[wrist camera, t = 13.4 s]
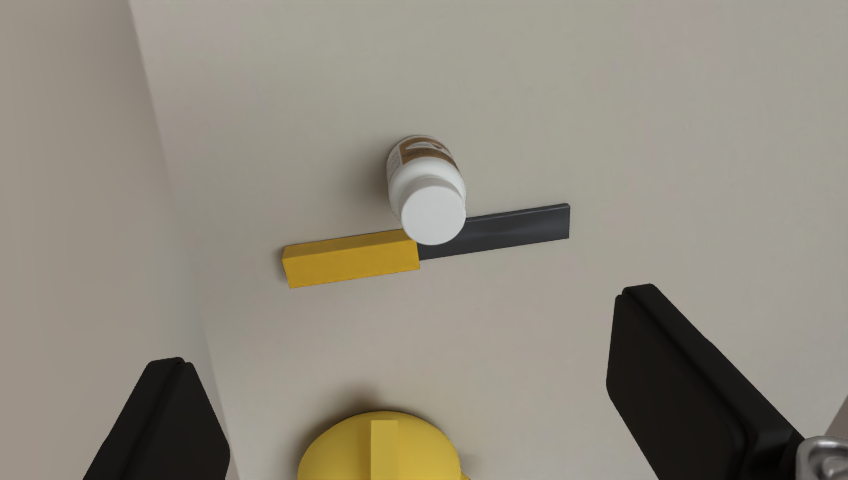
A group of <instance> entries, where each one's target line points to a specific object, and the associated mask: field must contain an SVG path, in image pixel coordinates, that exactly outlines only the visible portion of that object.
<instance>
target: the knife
mask: <svg viewBox="0 0 848 480" xmlns="http://www.w3.org/2000/svg"><path fill="white" fill-rule="evenodd" d="M569 222H570V205H569V204H560V205H554V206H547V207H540V208H533V209H526V210H520V211H513V212H506V213H499V214H492V215H486V216H479V217H472V218H465V222H464V225H463V227H462V229H461V230H460V232H459V233H458V234H457V235H456V236H455V237H454V238H452V239H451V240H449V241H447V242H445V243H442V244H438V245H425V244H421V243H418V242H416V241H414V240H413V239H411V238H410V237H409V236H408V235H407V234H406V232H405V231H404V229H399V230H392V231H385V232H378V233H371V234H365V235H358V236H351V237H344V238H337V239H331V240H324V241H317V242H310V243H304V244H297V245H290V246H285V249H284V252H283V256H282V263H283V266H284V270H285V273H286V276H287V280H288V283H289V286H290V288H297V287H304V286H311V285H317V284H324V283H331V282H337V281H344V280H351V279H357V278H364V277H371V276H377V275H384V274H390V273H397V272H404V271H410V270H417V269H420V264H419V261H420V260H426V259H433V258H440V257H446V256H453V255H460V254H467V253H473V252H480V251H487V250H493V249H500V248H507V247H513V246H520V245H527V244H533V243H540V242H547V241H553V240H560V239H567V238H569Z"/></svg>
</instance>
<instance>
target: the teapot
mask: <svg viewBox="0 0 848 480" xmlns="http://www.w3.org/2000/svg"><path fill="white" fill-rule="evenodd" d="M297 480H470V479H469V478H468V477H467V476H466V475H465V474H463V473H462V472H461V468H460V462H459V456H458V454H457V451H456V449H455V448H454V446H453V444H452V443H451V441H450V440H449V439H448V438H447V436H446V435H445V434H444V433H442V432H441V431H440V430H439V429H437V428H436V427H434V426H433V425H431V424H429V423H428V422H426V421H424V420H422V419H419V418H417V417H415V416H412V415H409V414H406V413H401V412H393V411H376V412H368V413H363V414H359V415H355V416H352V417H350V418H347V419H345V420H343V421H341V422H339V423H338V424H336V425H334V426H333V427H331V428H330V429H328V430H327V431H325V432H324V433H323V434H322V435H320V436H319V437H318V438H317V439H316V440H315V441H314V442H313V443H312V444H311V445H310V446H309V448H308V449H307V451H306V452H305V454H304V456H303V457H302V459H301V462H300V464H299V468H298V474H297Z"/></svg>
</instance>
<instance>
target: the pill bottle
mask: <svg viewBox="0 0 848 480" xmlns="http://www.w3.org/2000/svg"><path fill="white" fill-rule="evenodd" d="M386 171H387V183H388V193H389V201H390V205H391V208H392V211H393V213H394V214H395V216H396V217H397V219H398V220H399V221H400V222H401V224H402V227H403V229H404V231H405V232H406V234H407V235H408V236H409V237H410V238H411V239H413V240H414V241H416V242H418V243H421V244H425V245H438V244H442V243H445V242H447V241H449V240H451V239H452V238H454V237H455V236H456V235H457V234H458V233H459V232H460V230H461V229H462V227H463V225H464V222H465V218H466V209H465V205H464V203H465V198H466V189H465V184H464V181H463V178H462V176H461V174H460V172H459V170H458V168H457V166H456V163H455V162H454V159H453V158H452V156H451V153H450V152H449V150H448V148H447V147H446V146H445V145H444V144H443V143H442V142H440V141H439V140H437V139H435V138H433V137H430V136H424V135H417V136H412V137H409V138H406V139H404V140H403V141H401V142H399V143H398V144H397V145H396V146H395V147H394V148H393V150H392V151H391V153H390V155H389V157H388V160H387V166H386Z"/></svg>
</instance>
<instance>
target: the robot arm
mask: <svg viewBox="0 0 848 480" xmlns="http://www.w3.org/2000/svg"><path fill="white" fill-rule="evenodd" d="M606 387H607V391H608V394H609V397H610V399H611V401H612V402H613V404H614V406H615V407H616V409H617V411H618V412H619V414H620V416H621V417H622V419H623V421H624V422H625V424H626V426H627V427H628V429H629V431H630V432H631V434H632V436H633V437H634V439H635V441H636V442H637V444H638V446H639V447H640V449H641V451H642V452H643V454H644V456H645V457H646V459H647V461H648V462H649V464H650V466H651V467H652V469H653V471H654V472H655V474H656V476H657V477H658V479H659V480H848V440H847V439H843V438H839V437H834V436H815V437H811V438H807V439H805V438H804V437H803V436H802V435H801V434H800V433H799V432H798V431H797V430H796V429H795V428H794V427H793V426H792V425H791V424H790V423H789V422H788V421H787V420H786V419H785V418H784V417H783V416H782V415H781V414H780V413H779V412H778V411H777V410H776V409H775V407H774V406H773V405H772V404H771V403H770V402H769V401H768V400H767V399H766V398H765V397H764V396H763V395H762V394H761V393H760V392H759V391H758V390H757V389H756V388H755V387H754V386H753V385H752V384H751V383H750V382H749V381H748V380H747V379H746V378H745V377H744V376H743V374H742V373H741V372H740V371H739V370H738V369H737V368H736V367H735V366H734V365H733V364H732V363H731V362H730V361H729V360H728V359H727V358H726V357H725V356H724V355H723V354H722V353H721V352H720V351H719V350H718V349H717V348H716V347H715V346H714V345H713V344H712V343H711V342H710V341H709V340H708V339H706V338H705V337H704V336H703V335H702V334H701V333H700V332H699V331H698V330H697V329H696V328H695V327H694V326H693V325H692V324H691V323H690V322H689V320H688V319H687V318H686V317H685V316H684V315H683V314H682V313H681V312H680V311H679V310H678V309H677V308H676V307H675V306H674V305H673V304H672V303H671V302H670V301H669V300H668V299H667V298H666V297H665V296H664V295H663V294H662V293H661V291H660V290H659V289H658V288H657V287H656V286H654V285H653V284H643V285H637V286H631V287H626V288H624V289H623V291H622V295H618V296H617V297H616V299H615V306H614V315H613V324H612V333H611V342H610V351H609V360H608V369H607V378H606ZM229 461H230V449H229V444H228V442H227V440H226V438H225V435H224V433H223V431H222V429H221V426H220V424H219V422H218V420H217V417H216V415H215V413H214V411H213V408H212V406H211V404H210V401H209V399H208V397H207V395H206V392H205V390H204V388H203V386H202V383H201V381H200V379H199V377H198V374H197V372H196V370H195V368H194V366H193V364H192V363H191V362H186V363H185V361H184V360H183V359H182V358H181V357H174V358H167V359H161V360H155V361H151V362H150V363H148V365H147V366H146V368H145V370H144V371H143V373H142V375H141V377H140V379H139V380H138V382H137V384H136V386H135V388H134V389H133V391H132V393H131V395H130V397H129V399H128V401H127V402H126V404H125V406H124V408H123V410H122V412H121V413H120V415H119V417H118V419H117V421H116V423H115V424H114V426H113V428H112V430H111V431H110V433H109V435H108V437H107V438H106V439H105V441H104V442H103V444H102V445H101V447H100V449H99V451H98V453H97V455H96V456H95V458H94V460H93V462H92V464H91V465H90V467H89V469H88V471H87V473H86V475H85V476H84V478H83V480H225V477H226V473H227V469H228V466H229Z"/></svg>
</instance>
